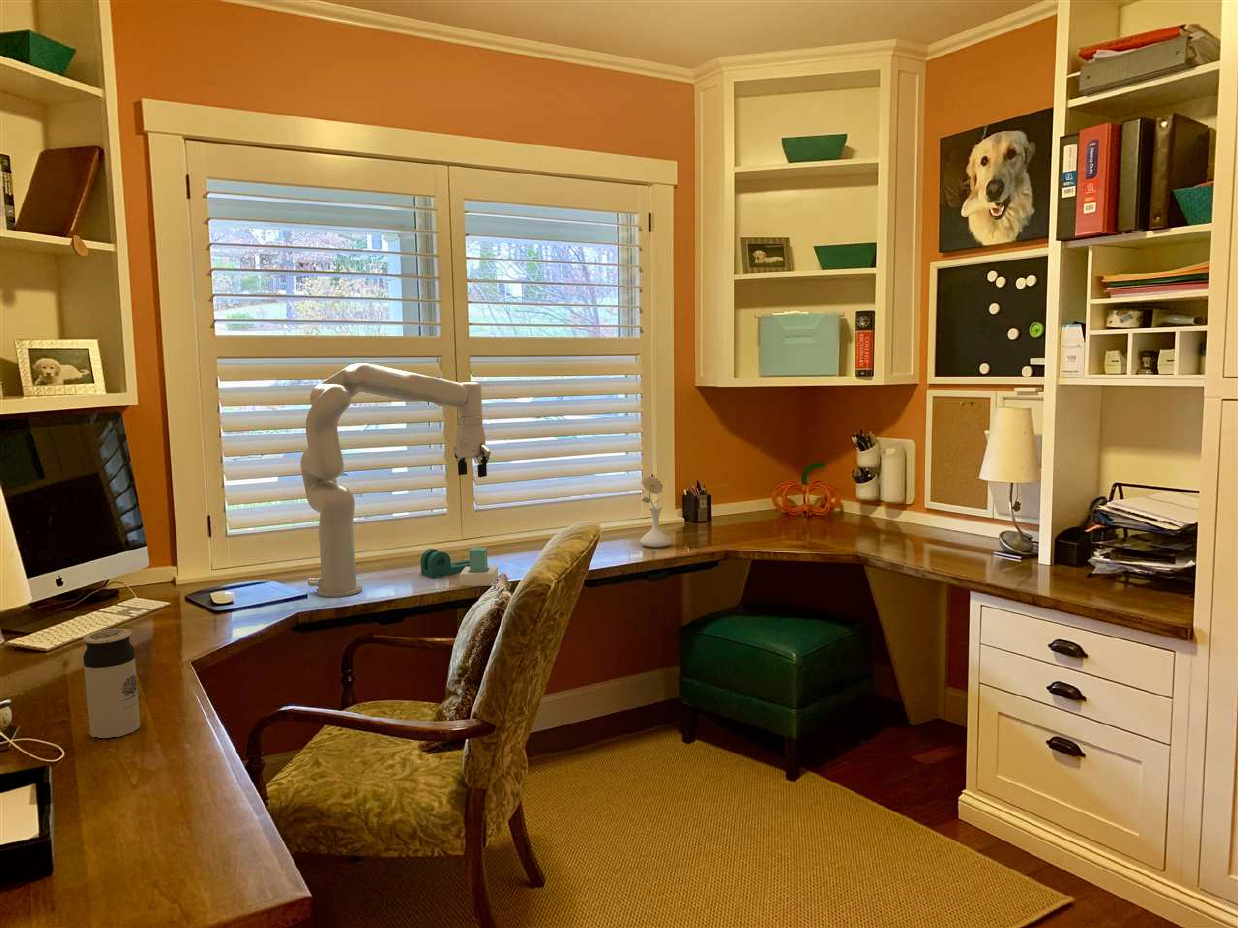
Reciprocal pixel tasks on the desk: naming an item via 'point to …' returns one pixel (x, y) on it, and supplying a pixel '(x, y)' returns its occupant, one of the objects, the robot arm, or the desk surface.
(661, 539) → the flower in vase
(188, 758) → the desk surface
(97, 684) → the travel mug
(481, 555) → the teal peg
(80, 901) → the desk surface
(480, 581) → the pocket block
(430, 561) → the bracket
